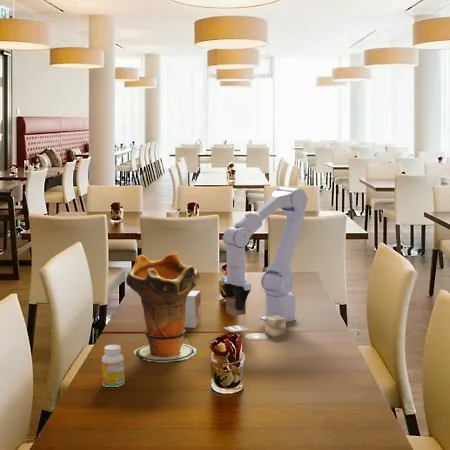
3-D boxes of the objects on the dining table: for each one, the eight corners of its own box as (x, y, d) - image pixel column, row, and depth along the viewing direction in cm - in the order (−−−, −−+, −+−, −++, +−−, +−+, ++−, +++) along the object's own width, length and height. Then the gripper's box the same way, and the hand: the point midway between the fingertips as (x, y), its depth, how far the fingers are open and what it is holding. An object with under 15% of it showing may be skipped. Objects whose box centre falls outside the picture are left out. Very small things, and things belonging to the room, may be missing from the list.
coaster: (259, 333, 215) (259, 331, 215) (272, 339, 209) (272, 337, 209) (240, 336, 212) (240, 335, 212) (252, 342, 206) (252, 341, 206)
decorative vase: (146, 370, 181) (143, 264, 179) (118, 350, 202) (114, 254, 199) (218, 358, 191) (215, 257, 188) (183, 340, 211) (181, 248, 209)
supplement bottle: (103, 381, 175) (102, 343, 174) (125, 380, 175) (124, 343, 174) (101, 389, 170) (100, 350, 168) (123, 388, 170) (122, 350, 169)
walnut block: (238, 310, 222) (238, 295, 221) (245, 313, 218) (245, 298, 217) (226, 312, 220) (225, 297, 219) (233, 316, 216) (233, 300, 215)
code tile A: (238, 325, 224) (238, 324, 224) (248, 330, 219) (248, 329, 219) (222, 328, 221) (222, 327, 221) (232, 332, 216) (232, 332, 215)
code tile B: (277, 330, 218) (277, 329, 218) (288, 335, 213) (288, 334, 213) (261, 333, 215) (261, 332, 215) (272, 338, 210) (272, 337, 210)
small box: (195, 328, 220) (195, 296, 219) (178, 327, 221) (178, 295, 220) (201, 321, 228) (201, 290, 227) (184, 320, 229) (184, 289, 228)
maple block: (277, 330, 217) (277, 315, 216) (285, 334, 213) (285, 318, 212) (265, 332, 215) (265, 317, 214) (273, 336, 211) (273, 320, 210)
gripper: (213, 263, 221) (213, 304, 223) (237, 271, 209) (237, 315, 210) (232, 260, 224) (232, 301, 226) (256, 268, 212) (256, 311, 214)
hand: (236, 308), depth 219 cm, fingers closed on walnut block, 4 cm apart
